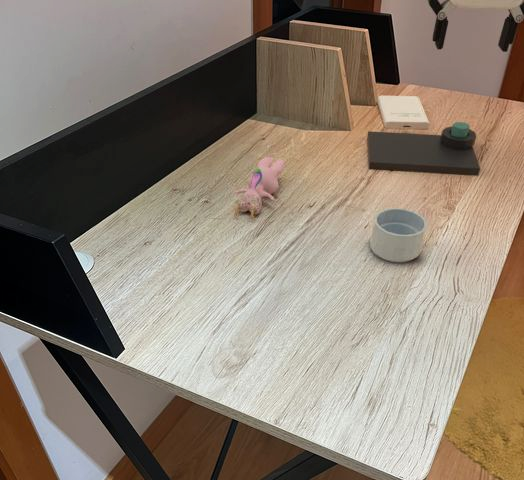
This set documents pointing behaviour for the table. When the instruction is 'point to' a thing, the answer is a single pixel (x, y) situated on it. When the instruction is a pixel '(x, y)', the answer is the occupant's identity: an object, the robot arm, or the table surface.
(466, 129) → the button
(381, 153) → the scale
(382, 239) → the bowl
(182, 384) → the table surface
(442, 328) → the table surface
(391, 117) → the hard drive
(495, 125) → the table surface
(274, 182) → the pink soft elongated toy
